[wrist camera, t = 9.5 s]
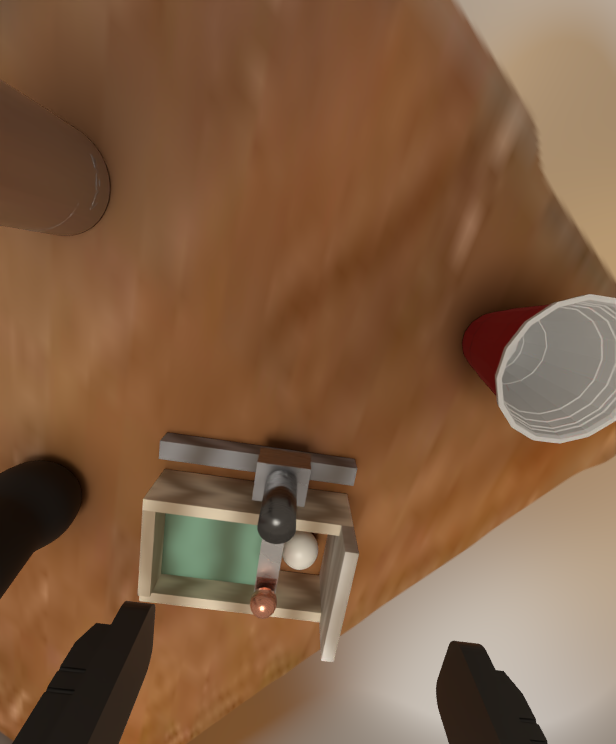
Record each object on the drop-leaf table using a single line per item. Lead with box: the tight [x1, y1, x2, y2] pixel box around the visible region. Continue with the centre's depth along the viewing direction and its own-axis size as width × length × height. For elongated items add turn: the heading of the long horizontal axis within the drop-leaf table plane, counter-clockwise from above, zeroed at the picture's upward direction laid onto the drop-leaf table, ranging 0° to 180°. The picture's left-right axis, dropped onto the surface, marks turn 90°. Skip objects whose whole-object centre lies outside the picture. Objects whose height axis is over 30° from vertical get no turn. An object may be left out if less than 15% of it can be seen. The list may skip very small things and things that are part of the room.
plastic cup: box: [462, 294, 616, 443], centre depth 31 cm, size 11×11×12 cm
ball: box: [282, 530, 318, 570], centre depth 40 cm, size 4×4×4 cm
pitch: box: [138, 432, 359, 662], centre depth 37 cm, size 20×17×9 cm
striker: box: [250, 447, 311, 619], centre depth 34 cm, size 5×13×9 cm, turn 171°
